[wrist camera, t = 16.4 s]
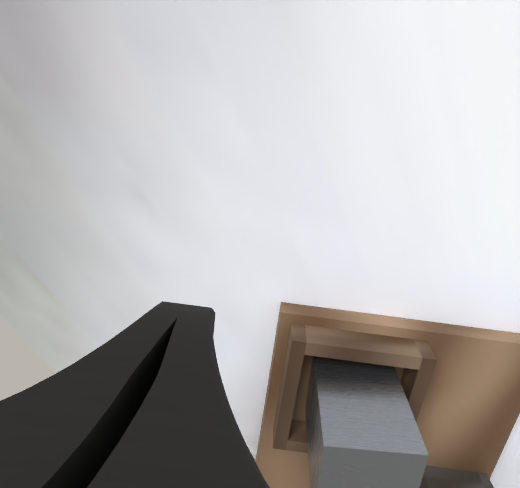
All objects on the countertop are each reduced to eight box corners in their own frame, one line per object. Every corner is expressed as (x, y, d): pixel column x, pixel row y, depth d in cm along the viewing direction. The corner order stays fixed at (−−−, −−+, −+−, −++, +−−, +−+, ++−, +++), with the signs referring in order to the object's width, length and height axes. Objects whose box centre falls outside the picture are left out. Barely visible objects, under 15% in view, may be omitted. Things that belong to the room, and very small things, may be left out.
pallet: (538, 336, 22) (570, 368, 19) (453, 527, 27) (470, 571, 25) (281, 302, 22) (280, 330, 19) (249, 500, 27) (246, 541, 25)
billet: (390, 357, 21) (429, 455, 16) (377, 417, 23) (408, 526, 17) (313, 350, 21) (323, 445, 16) (305, 410, 23) (312, 517, 17)
